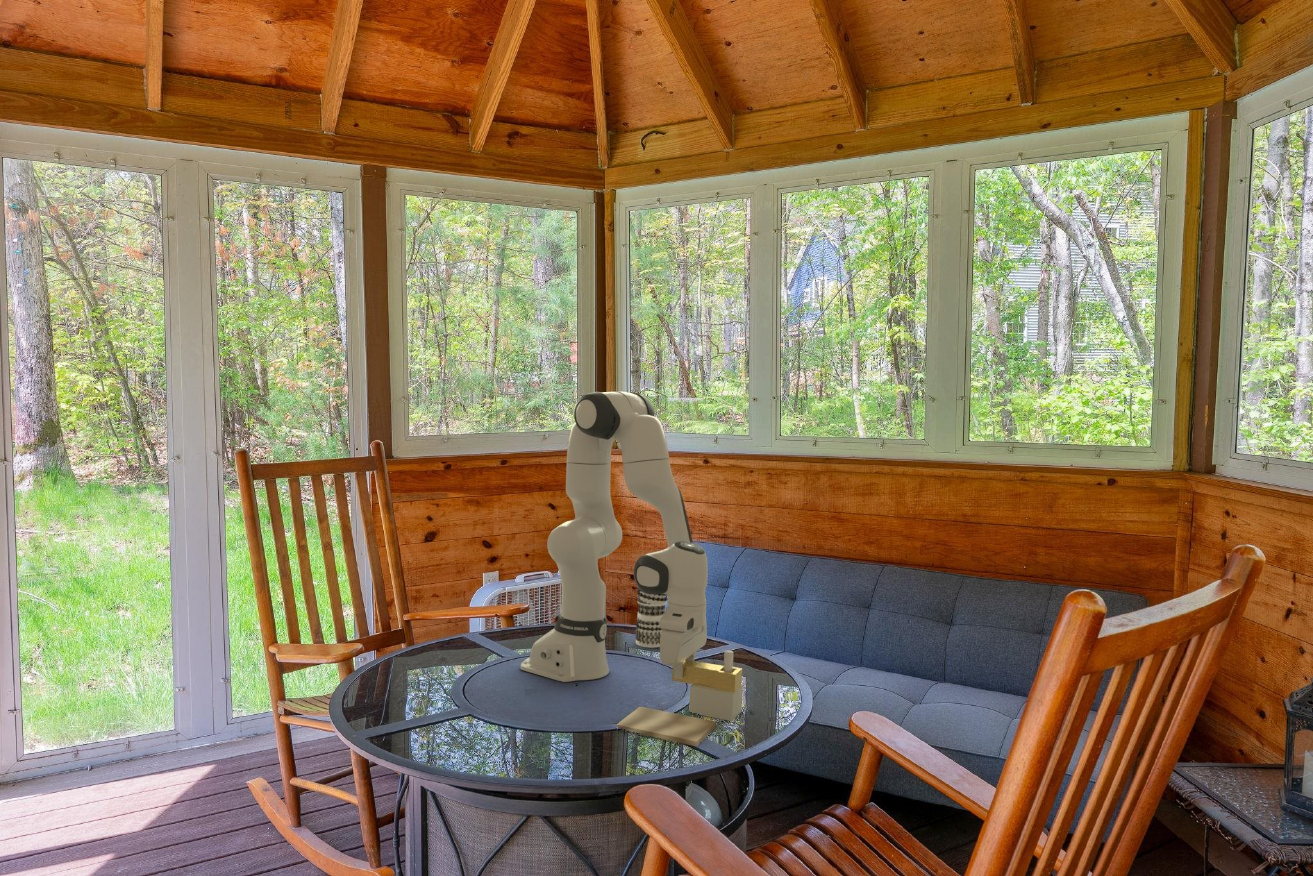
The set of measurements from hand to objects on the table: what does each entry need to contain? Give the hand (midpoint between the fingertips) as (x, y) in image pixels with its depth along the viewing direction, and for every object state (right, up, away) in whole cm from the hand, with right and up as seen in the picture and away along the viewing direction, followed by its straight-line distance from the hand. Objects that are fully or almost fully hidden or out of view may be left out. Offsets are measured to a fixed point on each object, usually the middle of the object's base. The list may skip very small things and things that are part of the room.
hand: (683, 674), depth 193 cm
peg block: (+7, -8, -3) cm, 11 cm away
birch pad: (-4, -8, -13) cm, 16 cm away
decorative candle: (-8, -5, +48) cm, 49 cm away
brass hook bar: (+5, -1, -2) cm, 6 cm away
